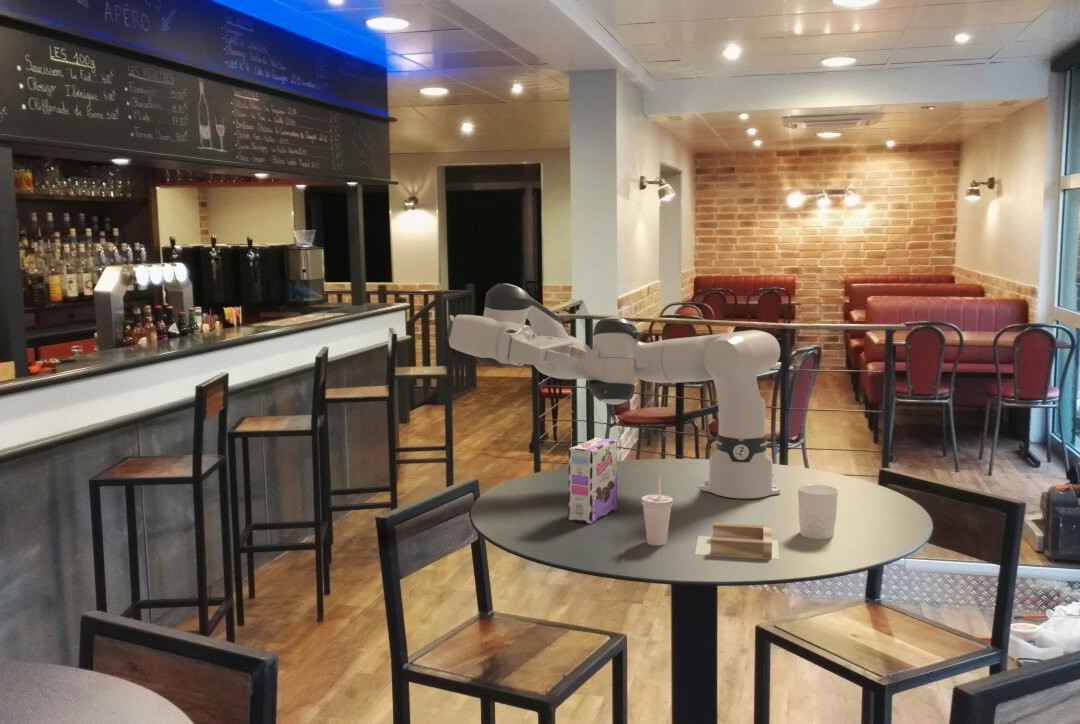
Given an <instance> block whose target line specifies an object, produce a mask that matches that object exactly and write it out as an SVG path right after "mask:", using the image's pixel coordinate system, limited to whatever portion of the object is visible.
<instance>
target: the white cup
mask: <svg viewBox="0 0 1080 724" xmlns="http://www.w3.org/2000/svg"><path fill="white" fill-rule="evenodd" d="M838 494H839V490H838V489H837V488H835V487H833V486H829V485H824V484H823V485H822V484H805V485H801V486H799V487H798V495H797V496H798V520H799V521H798V522H799V533H800V535H801V536H803V537H805V538H808V539H815V540H826V539H831V538H833V537H834V534H835V526H836V518H837V510H838V509H837V508H838Z"/></svg>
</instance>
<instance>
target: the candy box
mask: <svg viewBox="0 0 1080 724" xmlns="http://www.w3.org/2000/svg"><path fill="white" fill-rule="evenodd" d="M617 509H618V440H617V439H614V438H612V439H611V438H603V437H594V438H592V439H590V440H586V441H585V442H582V443H579V444H578V445H575V446H572V447H569V448H568V520H569V521H572V520H573V521H572V522H578V521H579V523H584V522H585V524H593V523H595V522H597V521H598V520H600V519H602V518H603V516H604V517H605V516H607V515H609V514H610V513H612V512H614V511H616V510H617ZM608 513H609V514H608ZM601 517H602V518H601Z"/></svg>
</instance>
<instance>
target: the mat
mask: <svg viewBox="0 0 1080 724" xmlns="http://www.w3.org/2000/svg"><path fill="white" fill-rule="evenodd" d="M711 537H712V536H706V535H698V536H697V541H696V546H695V551H694V555H695V556H696V555H697V556H698V555H699V556H714V557H723V556H722V555H711ZM729 557H734V558H740V557H739V556H728V558H729ZM745 558H749V559H756V558H755V557H745ZM761 559H762V560H763V559H766V560H780V552H779V541H778V539H776V540H775V539H772V558H761Z"/></svg>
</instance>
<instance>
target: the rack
mask: <svg viewBox="0 0 1080 724" xmlns="http://www.w3.org/2000/svg"><path fill="white" fill-rule="evenodd" d="M772 534H773V533H772V525H764V524H763V525H761V524H759V525H758V524H741V523H740V524H738V523H722V522H721V523H720V522H713V523H712V536H710V537H711V555H710V556H713V555H722V556H721V557H729V556H739V557H738V558H746V557H755V558H754V559H762V558H772V540H773V538H772V536H773V535H772Z"/></svg>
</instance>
